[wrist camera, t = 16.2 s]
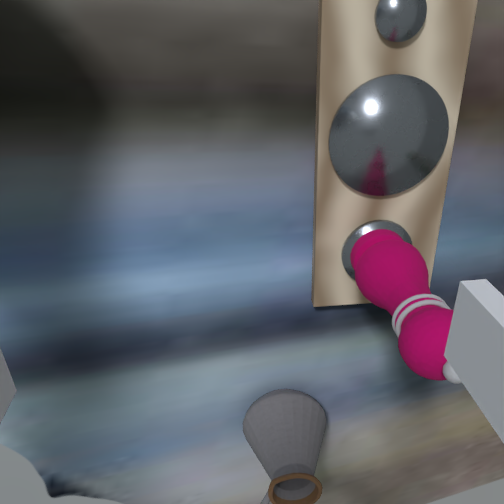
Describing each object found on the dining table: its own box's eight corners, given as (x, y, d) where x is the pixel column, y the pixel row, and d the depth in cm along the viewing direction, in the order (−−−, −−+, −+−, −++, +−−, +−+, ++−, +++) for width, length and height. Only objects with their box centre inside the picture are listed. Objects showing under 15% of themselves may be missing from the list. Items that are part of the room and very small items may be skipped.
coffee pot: (276, 365, 60) (292, 463, 47) (338, 400, 64) (369, 501, 50) (186, 456, 67) (178, 564, 54) (247, 483, 71) (253, 590, 57)
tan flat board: (311, 300, 55) (313, 306, 54) (320, -48, 39) (323, -50, 37) (422, 292, 56) (427, 299, 55) (478, -54, 39) (487, -57, 38)
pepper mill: (421, 238, 50) (531, 358, 32) (386, 289, 53) (470, 424, 35) (366, 214, 48) (450, 327, 30) (333, 268, 51) (393, 400, 33)
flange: (339, 284, 53) (340, 286, 52) (343, 221, 49) (344, 224, 49) (406, 279, 53) (408, 282, 53) (414, 217, 49) (416, 219, 49)
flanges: (326, 197, 48) (327, 199, 47) (333, -13, 39) (335, -13, 38) (436, 190, 48) (439, 192, 48) (469, -19, 39) (472, -19, 39)
